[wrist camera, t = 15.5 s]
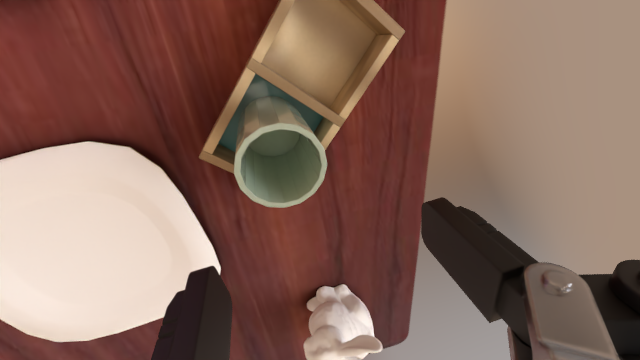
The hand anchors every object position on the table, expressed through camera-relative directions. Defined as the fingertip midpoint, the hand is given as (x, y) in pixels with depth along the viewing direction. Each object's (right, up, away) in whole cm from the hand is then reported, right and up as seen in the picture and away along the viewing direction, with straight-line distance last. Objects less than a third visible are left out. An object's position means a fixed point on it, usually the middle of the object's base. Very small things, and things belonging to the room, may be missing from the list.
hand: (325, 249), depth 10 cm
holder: (-3, +11, +15) cm, 18 cm away
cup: (-5, +7, +15) cm, 18 cm away
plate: (-23, -4, +17) cm, 29 cm away
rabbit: (+1, -14, +29) cm, 33 cm away
